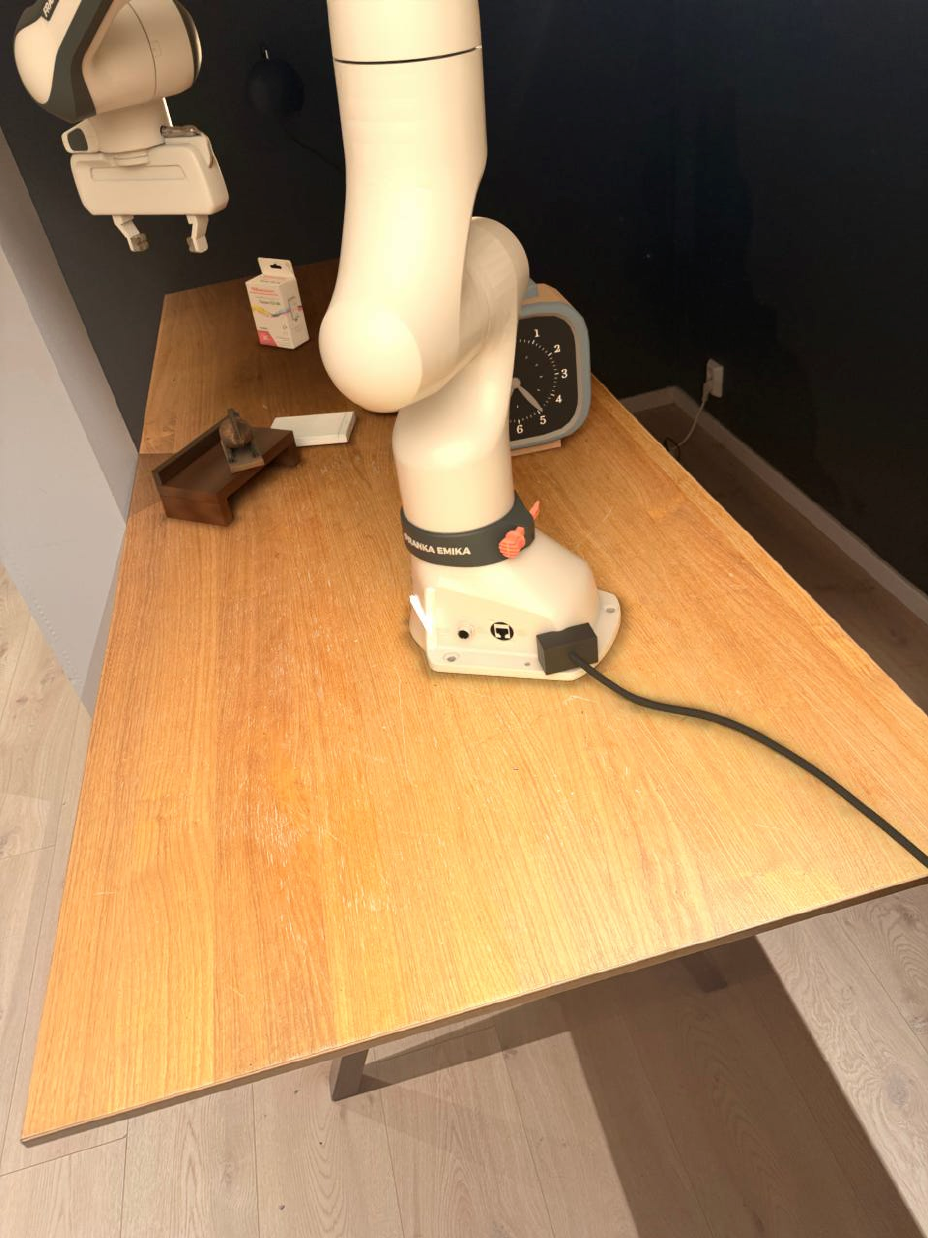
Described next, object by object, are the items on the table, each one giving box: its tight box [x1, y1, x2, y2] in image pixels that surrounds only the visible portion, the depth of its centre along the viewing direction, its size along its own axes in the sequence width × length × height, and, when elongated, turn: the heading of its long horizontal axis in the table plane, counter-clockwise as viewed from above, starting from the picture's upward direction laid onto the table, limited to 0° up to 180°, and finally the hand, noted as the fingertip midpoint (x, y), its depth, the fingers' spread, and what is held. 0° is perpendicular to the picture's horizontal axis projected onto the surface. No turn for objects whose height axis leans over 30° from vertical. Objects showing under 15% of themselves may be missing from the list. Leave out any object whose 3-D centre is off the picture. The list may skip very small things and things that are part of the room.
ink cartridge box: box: [245, 257, 310, 350], centre depth 173 cm, size 9×5×15 cm, turn 58°
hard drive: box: [270, 411, 357, 448], centre depth 143 cm, size 2×8×12 cm
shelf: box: [151, 411, 301, 527], centre depth 130 cm, size 10×18×7 cm, turn 155°
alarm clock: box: [509, 277, 592, 458], centre depth 127 cm, size 21×10×22 cm, turn 102°
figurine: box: [219, 407, 264, 473], centre depth 125 cm, size 14×4×9 cm, turn 20°
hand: (169, 250), depth 118 cm, fingers open, 8 cm apart
